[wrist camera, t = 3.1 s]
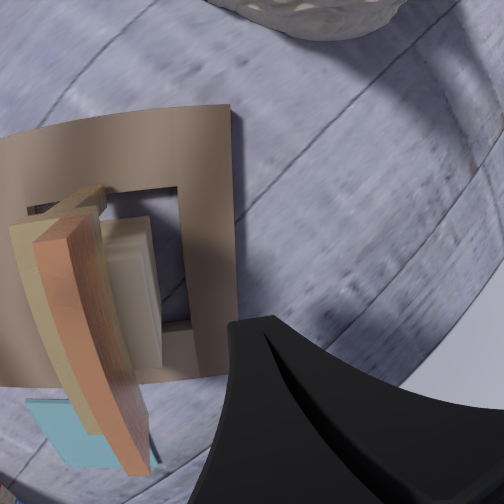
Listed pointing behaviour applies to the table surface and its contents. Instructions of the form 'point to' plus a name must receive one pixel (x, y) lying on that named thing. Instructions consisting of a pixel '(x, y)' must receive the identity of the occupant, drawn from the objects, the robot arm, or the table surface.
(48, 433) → the teal square plate
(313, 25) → the ceramic cottage
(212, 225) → the puzzle board
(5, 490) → the stack of blocks
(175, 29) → the table surface
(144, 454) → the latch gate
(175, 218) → the table surface
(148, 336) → the birch block
